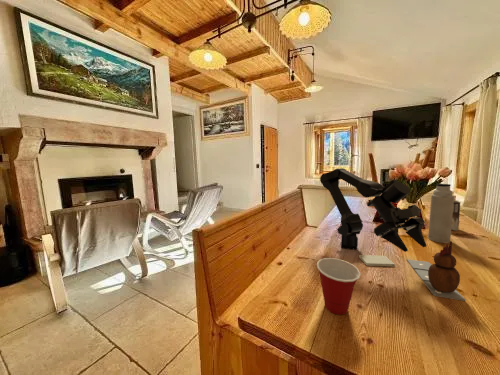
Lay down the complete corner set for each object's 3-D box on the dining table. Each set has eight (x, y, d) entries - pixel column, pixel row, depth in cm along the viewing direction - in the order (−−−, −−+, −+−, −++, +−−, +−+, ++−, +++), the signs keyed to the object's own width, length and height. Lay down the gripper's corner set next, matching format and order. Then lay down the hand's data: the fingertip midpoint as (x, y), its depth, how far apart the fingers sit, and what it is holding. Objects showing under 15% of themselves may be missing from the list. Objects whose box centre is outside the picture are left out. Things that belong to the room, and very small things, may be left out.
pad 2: (422, 280, 66) (422, 279, 66) (414, 270, 73) (414, 269, 73) (449, 285, 64) (450, 283, 64) (439, 273, 70) (439, 272, 70)
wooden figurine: (447, 284, 63) (451, 238, 61) (463, 296, 57) (468, 246, 56) (423, 282, 64) (426, 238, 63) (436, 294, 59) (440, 245, 57)
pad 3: (433, 295, 59) (433, 293, 59) (423, 282, 65) (423, 281, 65) (465, 301, 56) (465, 299, 56) (451, 286, 63) (451, 285, 63)
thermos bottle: (425, 236, 105) (428, 183, 101) (444, 237, 102) (448, 183, 99) (433, 242, 97) (437, 184, 94) (454, 243, 94) (459, 184, 91)
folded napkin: (366, 265, 77) (366, 263, 77) (359, 257, 84) (359, 255, 84) (394, 266, 76) (394, 264, 76) (384, 258, 83) (384, 255, 82)
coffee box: (455, 227, 116) (457, 200, 114) (458, 231, 111) (461, 202, 109) (434, 225, 121) (436, 199, 119) (436, 228, 116) (438, 201, 114)
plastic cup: (348, 330, 48) (349, 283, 46) (308, 307, 56) (308, 266, 54) (365, 308, 55) (367, 267, 53) (328, 290, 63) (328, 254, 61)
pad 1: (413, 269, 74) (413, 267, 74) (406, 260, 80) (406, 259, 80) (437, 272, 71) (437, 271, 71) (428, 263, 77) (429, 261, 77)
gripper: (383, 199, 67) (417, 243, 58) (420, 195, 73) (456, 234, 64) (362, 216, 76) (389, 257, 67) (397, 211, 81) (426, 248, 73)
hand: (416, 249), depth 67 cm, fingers open, 9 cm apart
